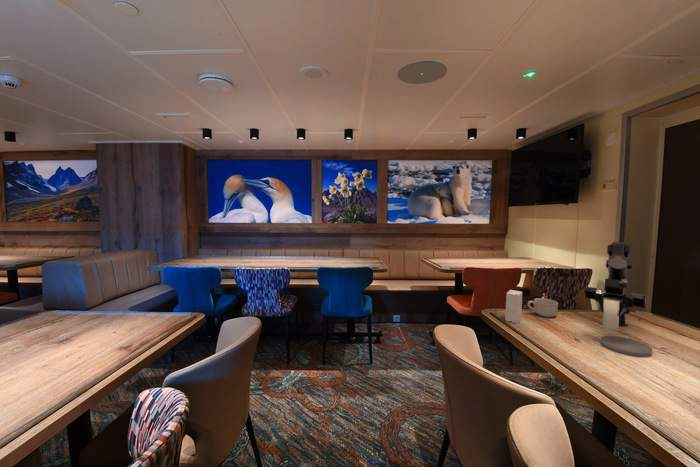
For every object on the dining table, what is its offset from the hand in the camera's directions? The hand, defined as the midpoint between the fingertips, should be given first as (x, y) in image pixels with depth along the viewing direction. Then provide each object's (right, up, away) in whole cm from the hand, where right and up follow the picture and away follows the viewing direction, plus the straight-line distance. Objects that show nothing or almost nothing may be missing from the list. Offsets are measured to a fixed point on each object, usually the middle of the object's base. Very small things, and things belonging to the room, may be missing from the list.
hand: (610, 313), depth 117 cm
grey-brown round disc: (+5, -14, -1) cm, 14 cm away
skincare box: (-22, -12, +31) cm, 40 cm away
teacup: (-2, -12, +38) cm, 40 cm away
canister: (+1, -7, +1) cm, 7 cm away
